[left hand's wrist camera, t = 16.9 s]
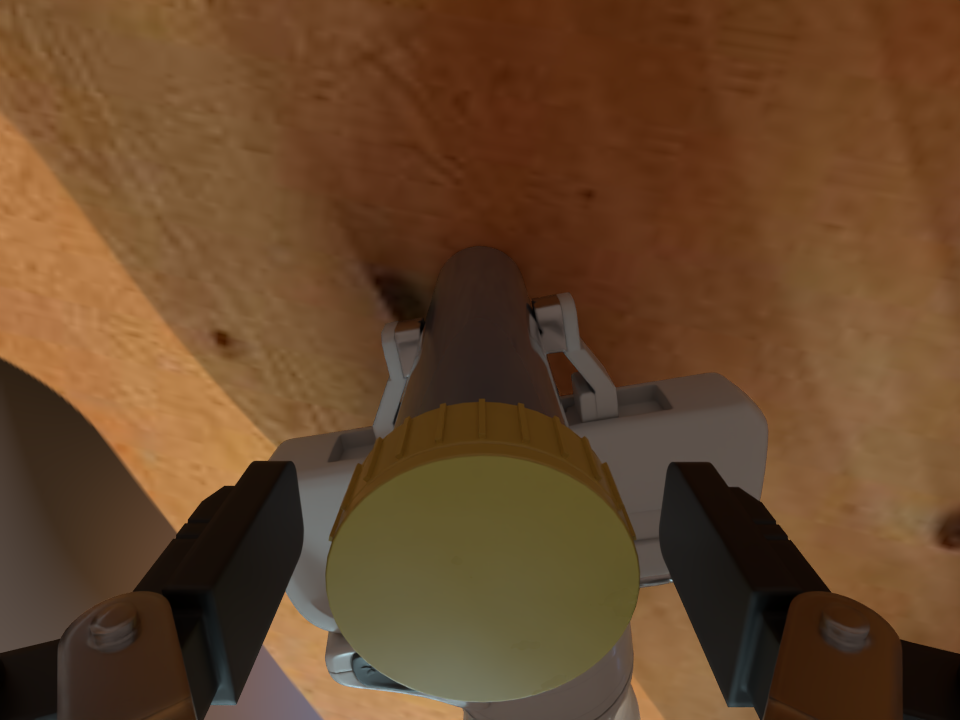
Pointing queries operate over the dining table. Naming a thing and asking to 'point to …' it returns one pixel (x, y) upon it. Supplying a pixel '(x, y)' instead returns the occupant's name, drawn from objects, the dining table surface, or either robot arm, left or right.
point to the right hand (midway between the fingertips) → (475, 311)
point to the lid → (482, 554)
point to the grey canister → (480, 341)
